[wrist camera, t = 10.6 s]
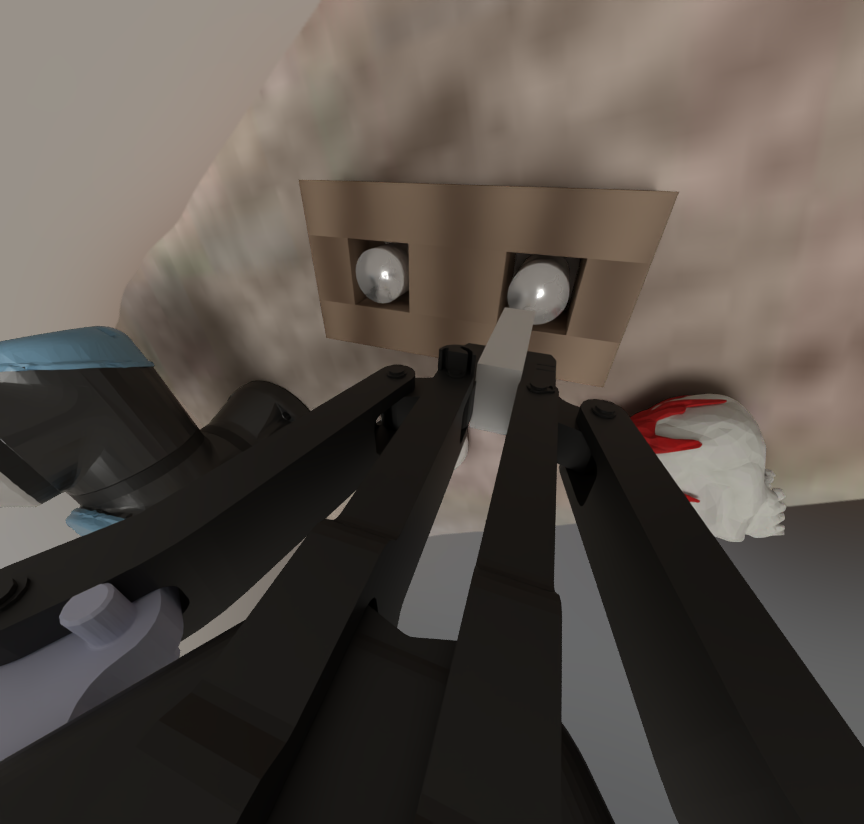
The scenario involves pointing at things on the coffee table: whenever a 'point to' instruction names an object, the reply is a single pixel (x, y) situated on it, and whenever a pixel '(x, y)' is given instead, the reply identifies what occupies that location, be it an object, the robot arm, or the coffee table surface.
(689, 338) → the coffee table surface
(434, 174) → the coffee table surface
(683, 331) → the coffee table surface
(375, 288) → the steel peg
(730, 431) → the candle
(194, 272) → the coffee table surface
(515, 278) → the steel peg
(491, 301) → the walnut block
